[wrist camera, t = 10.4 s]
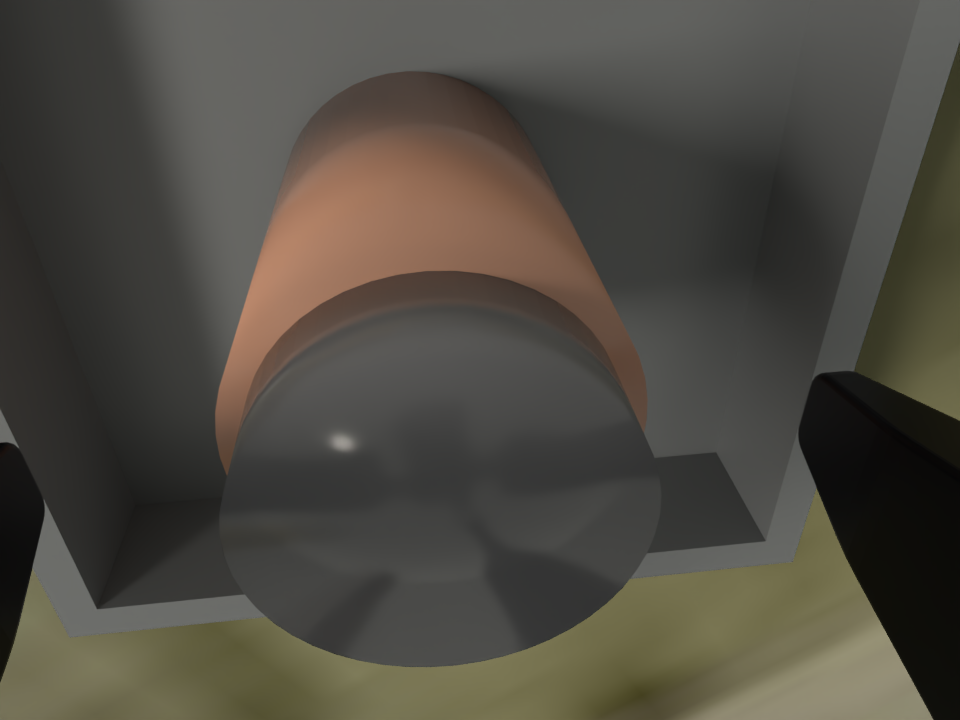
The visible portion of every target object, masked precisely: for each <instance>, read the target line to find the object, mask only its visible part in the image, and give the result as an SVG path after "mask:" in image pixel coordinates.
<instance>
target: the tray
mask: <svg viewBox="0 0 960 720" xmlns="http://www.w3.org/2000/svg"><path fill="white" fill-rule="evenodd" d="M959 43H960V0H0V443H1V442H9V443H12V444H14V445H16V446H17V447H18V448H19V449H20V451H21V452H22V454H23V456H24V458H25V460H26V462H27V464H28V466H29V468H30V470H31V472H32V475H33V477H34V479H35V481H36V483H37V485H38V487H39V489H40V491H41V493H42V496H43V499H44V504H45V516H44V521H43V525H42V530H41V534H40V538H39V542H38V546H37V551H36V555H35V559H34V563H33V567H32V568H33V570H34V571H35V573H36V575H37V577H38V579H39V581H40V583H41V585H42V587H43V588H44V590H45V592H46V594H47V596H48V598H49V600H50V602H51V603H52V605H53V607H54V609H55V611H56V613H57V615H58V617H59V618H60V620H61V622H62V624H63V626H64V628H65V630H66V632H67V633H68V635H69V637H78V636H88V635H97V634H107V633H116V632H126V631H136V630H145V629H155V628H164V627H174V626H183V625H193V624H203V623H212V622H222V621H231V620H241V619H250V618H260V617H266V616H265V615H264V614H263V613H262V612H260V611H259V610H258V609H257V608H256V607H255V606H254V605H253V603H252V602H251V601H250V600H249V599H248V598H247V597H246V595H245V594H244V593H243V592H242V590H241V589H240V587H239V585H238V584H237V582H236V581H235V579H234V578H233V576H232V574H231V572H230V569H229V567H228V564H227V562H226V559H225V557H224V554H223V549H222V544H221V539H220V526H219V513H220V507H221V502H222V496H223V491H224V487H225V483H226V479H227V475H226V472H225V469H224V467H223V464H222V461H221V459H220V455H219V450H218V445H217V439H216V427H215V410H216V404H217V398H218V391H219V387H220V383H221V380H222V377H223V374H224V370H225V367H226V364H227V360H228V357H229V354H230V350H231V347H232V344H233V341H234V337H235V334H236V331H237V327H238V324H239V321H240V318H241V314H242V311H243V308H244V304H245V301H246V298H247V294H248V291H249V288H250V285H251V281H252V278H253V275H254V271H255V268H256V265H257V262H258V258H259V255H260V252H261V248H262V245H263V242H264V238H265V235H266V232H267V229H268V225H269V222H270V219H271V215H272V212H273V209H274V206H275V202H276V199H277V196H278V192H279V189H280V186H281V182H282V179H283V176H284V173H285V169H286V166H287V163H288V160H289V157H290V154H291V151H292V148H293V146H294V144H295V142H296V140H297V138H298V136H299V134H300V133H301V131H302V130H303V128H304V127H305V125H306V124H307V123H308V121H309V120H310V118H311V117H312V116H313V115H314V114H315V113H316V112H317V111H318V110H319V109H320V108H321V107H322V106H323V105H324V104H325V103H327V102H328V101H329V100H330V99H332V98H333V97H334V96H335V95H337V94H338V93H340V92H342V91H344V90H345V89H347V88H349V87H350V86H352V85H354V84H357V83H359V82H362V81H364V80H366V79H369V78H372V77H376V76H380V75H384V74H388V73H397V72H405V71H412V72H430V73H436V74H442V75H446V76H449V77H453V78H456V79H459V80H462V81H464V82H467V83H469V84H471V85H473V86H475V87H477V88H479V89H481V90H482V91H484V92H485V93H487V94H489V95H490V96H492V97H493V98H494V99H496V100H497V101H498V102H499V103H500V104H501V105H503V106H504V107H505V108H506V109H507V110H508V111H509V112H510V113H511V114H512V115H513V117H514V118H515V119H516V120H517V121H518V122H519V124H520V125H521V127H522V128H523V130H524V131H525V133H526V134H527V136H528V138H529V140H530V142H531V144H532V146H533V147H534V149H535V151H536V153H537V155H538V157H539V159H540V161H541V163H542V165H543V167H544V169H545V171H546V173H547V175H548V177H549V179H550V181H551V183H552V185H553V187H554V189H555V191H556V193H557V195H558V197H559V199H560V201H561V203H562V205H563V207H564V209H565V211H566V212H567V214H568V216H569V218H570V220H571V222H572V224H573V226H574V228H575V230H576V232H577V234H578V236H579V238H580V240H581V242H582V244H583V246H584V248H585V250H586V252H587V254H588V256H589V258H590V260H591V262H592V264H593V266H594V268H595V270H596V272H597V274H598V275H599V277H600V279H601V281H602V283H603V285H604V287H605V289H606V291H607V293H608V295H609V297H610V299H611V301H612V303H613V305H614V307H615V309H616V311H617V313H618V315H619V317H620V319H621V321H622V323H623V325H624V327H625V329H626V331H627V333H628V335H629V337H630V339H631V341H632V343H633V345H634V347H635V349H636V351H637V353H638V355H639V358H640V362H641V365H642V369H643V372H644V375H645V381H646V390H647V398H648V402H647V421H646V426H645V430H644V435H645V437H646V439H647V441H648V444H649V446H650V448H651V450H652V453H653V455H654V458H655V462H656V465H657V468H658V472H659V476H660V485H661V494H662V495H661V509H660V517H659V521H658V525H657V529H656V533H655V536H654V538H653V541H652V543H651V545H650V548H649V550H648V552H647V554H646V556H645V557H644V559H643V561H642V562H641V564H640V566H639V567H638V569H637V570H636V572H635V573H634V574H633V575H632V577H631V578H630V579H633V578H643V577H652V576H662V575H672V574H681V573H691V572H700V571H710V570H719V569H729V568H739V567H748V566H758V565H767V564H777V563H786V562H793V559H794V556H795V553H796V550H797V547H798V543H799V540H800V537H801V534H802V531H803V528H804V525H805V522H806V519H807V515H808V512H809V509H810V506H811V503H812V500H813V497H814V494H815V491H816V485H815V482H814V480H813V477H812V475H811V473H810V470H809V468H808V465H807V463H806V460H805V458H804V455H803V453H802V451H801V448H800V444H799V440H798V428H799V423H800V420H801V416H802V413H803V409H804V406H805V402H806V399H807V395H808V392H809V388H810V385H811V383H812V380H813V379H814V378H815V377H816V376H817V375H819V374H820V373H826V372H838V371H854V369H855V366H856V363H857V360H858V357H859V354H860V351H861V347H862V344H863V341H864V338H865V335H866V332H867V329H868V326H869V323H870V319H871V316H872V313H873V310H874V307H875V304H876V301H877V298H878V295H879V291H880V288H881V285H882V282H883V279H884V276H885V273H886V270H887V267H888V263H889V260H890V257H891V254H892V251H893V248H894V245H895V242H896V239H897V236H898V232H899V229H900V226H901V223H902V220H903V217H904V214H905V211H906V208H907V204H908V201H909V198H910V195H911V192H912V189H913V186H914V183H915V180H916V176H917V173H918V170H919V167H920V164H921V161H922V158H923V155H924V152H925V148H926V145H927V142H928V139H929V136H930V133H931V130H932V127H933V124H934V120H935V117H936V114H937V111H938V108H939V105H940V102H941V99H942V96H943V92H944V89H945V86H946V83H947V80H948V77H949V74H950V71H951V68H952V64H953V61H954V58H955V55H956V52H957V49H958V46H959Z"/></svg>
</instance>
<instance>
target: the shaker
mask: <svg viewBox="0 0 960 720" xmlns="http://www.w3.org/2000/svg"><path fill="white" fill-rule="evenodd" d="M647 402H648V398H647V390H646V381H645V375H644V372H643V369H642V365H641V362H640V358H639V355H638V353H637V351H636V349H635V347H634V345H633V343H632V341H631V339H630V337H629V335H628V333H627V331H626V329H625V327H624V325H623V323H622V321H621V319H620V317H619V315H618V313H617V311H616V309H615V307H614V305H613V303H612V301H611V299H610V297H609V295H608V293H607V291H606V289H605V287H604V285H603V283H602V281H601V279H600V277H599V275H598V274H597V272H596V270H595V268H594V266H593V264H592V262H591V260H590V258H589V256H588V254H587V252H586V250H585V248H584V246H583V244H582V242H581V240H580V238H579V236H578V234H577V232H576V230H575V228H574V226H573V224H572V222H571V220H570V218H569V216H568V214H567V212H566V211H565V209H564V207H563V205H562V203H561V201H560V199H559V197H558V195H557V193H556V191H555V189H554V187H553V185H552V183H551V181H550V179H549V177H548V175H547V173H546V171H545V169H544V167H543V165H542V163H541V161H540V159H539V157H538V155H537V153H536V151H535V149H534V147H533V146H532V144H531V142H530V140H529V138H528V136H527V134H526V133H525V131H524V130H523V128H522V127H521V125H520V124H519V122H518V121H517V120H516V119H515V118H514V117H513V115H512V114H511V113H510V112H509V111H508V110H507V109H506V108H505V107H504V106H503V105H501V104H500V103H499V102H498V101H497V100H496V99H494V98H493V97H492V96H490V95H489V94H487V93H485V92H484V91H482V90H481V89H479V88H477V87H475V86H473V85H471V84H469V83H467V82H464V81H462V80H459V79H456V78H453V77H449V76H446V75H442V74H436V73H430V72H412V71H405V72H397V73H388V74H384V75H380V76H376V77H372V78H369V79H366V80H364V81H362V82H359V83H357V84H354V85H352V86H350V87H349V88H347V89H345V90H344V91H342V92H340V93H338V94H337V95H335V96H334V97H333V98H332V99H330V100H329V101H328V102H327V103H325V104H324V105H323V106H322V107H321V108H320V109H319V110H318V111H317V112H316V113H315V114H314V115H313V116H312V117H311V118H310V120H309V121H308V123H307V124H306V125H305V127H304V128H303V130H302V131H301V133H300V134H299V136H298V138H297V140H296V142H295V144H294V146H293V148H292V151H291V154H290V157H289V160H288V163H287V166H286V169H285V173H284V176H283V179H282V182H281V186H280V189H279V192H278V196H277V199H276V202H275V206H274V209H273V212H272V215H271V219H270V222H269V225H268V229H267V232H266V235H265V238H264V242H263V245H262V248H261V252H260V255H259V258H258V262H257V265H256V268H255V271H254V275H253V278H252V281H251V285H250V288H249V291H248V294H247V298H246V301H245V304H244V308H243V311H242V314H241V318H240V321H239V324H238V327H237V331H236V334H235V337H234V341H233V344H232V347H231V350H230V354H229V357H228V360H227V364H226V367H225V370H224V374H223V377H222V380H221V383H220V387H219V391H218V398H217V404H216V410H215V427H216V439H217V445H218V450H219V455H220V459H221V461H222V464H223V467H224V469H225V472H226V475H227V479H226V483H225V487H224V491H223V496H222V502H221V507H220V513H219V526H220V539H221V544H222V549H223V554H224V557H225V559H226V562H227V564H228V567H229V569H230V572H231V574H232V576H233V578H234V579H235V581H236V582H237V584H238V585H239V587H240V589H241V590H242V592H243V593H244V594H245V595H246V597H247V598H248V599H249V600H250V601H251V602H252V603H253V605H254V606H255V607H256V608H257V609H258V610H259V611H260V612H262V613H263V614H264V615H265V616H266V617H267V618H269V619H270V620H271V621H272V622H273V623H275V624H276V625H278V626H279V627H281V628H282V629H284V630H285V631H287V632H288V633H290V634H291V635H293V636H295V637H297V638H299V639H301V640H303V641H305V642H307V643H309V644H311V645H313V646H315V647H318V648H320V649H323V650H326V651H328V652H331V653H334V654H337V655H340V656H344V657H348V658H351V659H355V660H359V661H365V662H370V663H376V664H382V665H392V666H403V667H438V666H453V665H461V664H468V663H475V662H481V661H485V660H489V659H494V658H498V657H503V656H506V655H509V654H512V653H516V652H519V651H522V650H525V649H528V648H530V647H533V646H535V645H538V644H540V643H543V642H545V641H547V640H550V639H552V638H554V637H556V636H557V635H559V634H561V633H563V632H565V631H567V630H569V629H571V628H572V627H574V626H576V625H577V624H579V623H580V622H582V621H583V620H585V619H587V618H588V617H590V616H591V615H592V614H593V613H595V612H596V611H597V610H599V609H600V608H601V607H602V606H604V605H605V604H606V603H607V602H608V601H609V600H610V599H611V598H613V597H614V596H615V595H616V594H617V593H618V592H619V591H620V590H621V589H622V588H623V587H624V585H625V584H626V583H627V582H628V580H629V579H630V578H631V577H632V575H633V574H634V573H635V572H636V570H637V569H638V567H639V566H640V564H641V562H642V561H643V559H644V557H645V556H646V554H647V552H648V550H649V548H650V545H651V543H652V541H653V538H654V536H655V533H656V529H657V525H658V521H659V517H660V509H661V495H662V494H661V485H660V476H659V472H658V468H657V465H656V462H655V458H654V455H653V453H652V450H651V448H650V446H649V444H648V441H647V439H646V437H645V435H644V430H645V426H646V421H647Z"/></svg>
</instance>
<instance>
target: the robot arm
mask: <svg viewBox="0 0 960 720" xmlns="http://www.w3.org/2000/svg"><path fill="white" fill-rule="evenodd" d="M798 440H799V444H800V448H801V451H802V453H803V455H804V458H805V460H806V463H807V465H808V468H809V470H810V473H811V475H812V477H813V480H814V482H815V485H816V487H817V490H818V492H819V495H820V497H821V500H822V502H823V504H824V507H825V509H826V512H827V514H828V517H829V519H830V522H831V524H832V526H833V529H834V531H835V534H836V536H837V539H838V541H839V543H840V545H841V548H842V550H843V552H844V554H845V557H846V559H847V560H848V562H849V564H850V566H851V568H852V570H853V572H854V574H855V576H856V578H857V580H858V582H859V583H860V585H861V587H862V589H863V591H864V593H865V594H866V596H867V598H868V600H869V602H870V604H871V606H872V607H873V609H874V611H875V613H876V615H877V617H878V618H879V620H880V622H881V624H882V626H883V628H884V629H885V631H886V633H887V635H888V637H889V639H890V641H891V642H892V644H893V646H894V648H895V650H896V652H897V653H898V655H899V657H900V659H901V661H902V663H903V664H904V666H905V668H906V670H907V672H908V674H909V675H910V677H911V679H912V681H913V683H914V685H915V687H916V688H917V690H918V692H919V694H920V696H921V698H922V699H923V701H924V703H925V705H926V707H927V709H928V710H929V712H930V714H931V716H932V718H933V720H960V421H959V420H957V419H955V418H953V417H950V416H948V415H946V414H944V413H942V412H940V411H938V410H936V409H933V408H931V407H929V406H927V405H925V404H923V403H921V402H918V401H916V400H914V399H912V398H910V397H908V396H906V395H904V394H901V393H899V392H897V391H895V390H893V389H891V388H889V387H887V386H884V385H882V384H880V383H878V382H876V381H874V380H872V379H870V378H867V377H865V376H863V375H861V374H859V373H857V372H854V371H838V372H826V373H820V374H819V375H817V376H816V377H815V378H814V379H813V380H812V383H811V385H810V388H809V392H808V395H807V399H806V402H805V406H804V409H803V413H802V416H801V420H800V423H799V428H798ZM44 516H45V504H44V499H43V496H42V493H41V491H40V489H39V487H38V485H37V483H36V481H35V479H34V477H33V475H32V472H31V470H30V468H29V466H28V464H27V462H26V460H25V458H24V456H23V454H22V452H21V451H20V449H19V448H18V447H17V446H16V445H14V444H12V443H9V442H1V443H0V681H1V679H2V676H3V673H4V670H5V668H6V665H7V662H8V659H9V656H10V653H11V650H12V647H13V644H14V640H15V637H16V633H17V629H18V626H19V622H20V618H21V613H22V609H23V605H24V601H25V597H26V592H27V588H28V584H29V580H30V576H31V571H32V567H33V563H34V559H35V555H36V551H37V546H38V542H39V538H40V534H41V530H42V525H43V521H44Z"/></svg>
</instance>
